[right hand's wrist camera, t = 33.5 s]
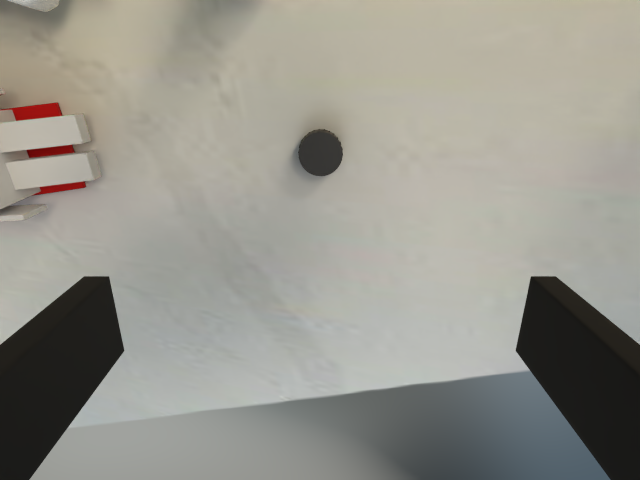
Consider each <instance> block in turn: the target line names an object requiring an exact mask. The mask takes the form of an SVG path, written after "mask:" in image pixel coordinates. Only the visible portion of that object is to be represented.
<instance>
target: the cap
mask: <svg viewBox="0 0 640 480" xmlns="http://www.w3.org/2000/svg"><path fill="white" fill-rule="evenodd" d="M299 148H300V149H299V152H298V153H299V159H300V162H301V164H302V166H303V168H304V169H305V170H306V171H308V172H309V173H311V174H313V175H316V176H325V175H328V174H331V173H332V172H334V171H335V170H336V169H337V168H338V167H339V165H340V163H341V160H342V155H343V153H342V150H343V149H342V147H341V143H340V142H339V140H338V137H336V136H335V135H334V133H331V132H330V131H327V130H325V129H324V130H320V129H319V130H315V131H312V132H309V134H307V135H306V136H305V137H304V139H303V140H302V142H301V145H300V147H299Z"/></svg>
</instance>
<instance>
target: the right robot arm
mask: <svg viewBox="0 0 640 480" xmlns="http://www.w3.org/2000/svg"><path fill="white" fill-rule="evenodd" d="M123 352H124V347H123V342H122V338H121V333H120V328H119V323H118V318H117V313H116V308H115V304H114V299H113V294H112V289H111V284H110V279H109V277H83V278H82V279H81V280H79V281H78V282H77V283H76V284H74V285H73V286H72V287H71V288H70V289H68V290H67V291H66V292H65V293H63V294H62V295H61V296H60V297H59V298H57V299H56V300H55V301H54V302H52V303H51V304H50V305H49V306H47V307H46V308H45V309H44V310H43V311H41V312H40V313H39V314H38V315H36V316H35V317H34V318H33V319H31V320H30V321H29V322H28V323H27V324H25V325H24V326H23V327H22V328H20V329H19V330H18V331H17V332H15V333H14V334H13V335H12V336H11V337H9V338H8V339H7V340H6V341H4V342H3V343H2V344H1V345H0V480H29V479H30V478H31V477H32V475H33V474H34V472H35V471H36V470H37V468H38V467H39V466H40V464H41V463H42V462H43V460H44V459H45V458H46V456H47V455H48V454H49V452H50V451H51V449H52V448H53V447H54V445H55V444H56V443H57V441H58V440H59V439H60V437H61V436H62V434H63V433H64V432H65V430H66V429H67V428H68V426H69V425H70V424H71V422H72V421H73V420H74V418H75V417H76V415H77V414H78V413H79V411H80V410H81V409H82V407H83V406H84V405H85V403H86V402H87V401H88V399H89V398H90V396H91V395H92V394H93V392H94V391H95V390H96V388H97V387H98V386H99V384H100V383H101V382H102V380H103V379H104V377H105V376H106V375H107V373H108V372H109V371H110V369H111V368H112V367H113V365H114V364H115V363H116V361H117V360H118V358H119V357H120V356H121V354H122V353H123ZM516 352H517V353H518V354H519V356H520V357H521V358H522V360H523V361H524V363H525V364H526V365H527V367H528V368H529V369H530V371H531V372H532V373H533V375H534V376H535V377H536V379H537V380H538V381H539V383H540V384H541V386H542V387H543V388H544V390H545V391H546V392H547V394H548V395H549V396H550V398H551V399H552V401H553V402H554V403H555V405H556V406H557V407H558V409H559V410H560V411H561V413H562V414H563V416H564V417H565V418H566V420H567V421H568V422H569V424H570V425H571V426H572V428H573V429H574V430H575V432H576V433H577V435H578V436H579V437H580V439H581V440H582V441H583V443H584V444H585V445H586V447H587V448H588V449H589V451H590V452H591V453H592V455H593V456H594V458H595V459H596V460H597V462H598V463H599V464H600V466H601V467H602V468H603V470H604V471H605V472H606V474H607V475H608V477H609V478H610V479H611V480H640V345H639V344H638V343H637V342H636V341H634V340H633V339H632V338H631V337H629V336H628V335H627V334H626V333H625V332H623V331H622V330H621V329H620V328H618V327H617V326H616V325H615V324H613V323H612V322H611V321H610V320H609V319H607V318H606V317H605V316H604V315H602V314H601V313H600V312H599V311H597V310H596V309H595V308H594V307H593V306H591V305H590V304H589V303H588V302H586V301H585V300H584V299H583V298H581V297H580V296H579V295H578V294H577V293H575V292H574V291H573V290H572V289H570V288H569V287H568V286H567V285H566V284H564V283H563V282H562V281H561V280H559V279H558V278H557V277H531V279H530V284H529V289H528V294H527V299H526V304H525V308H524V313H523V318H522V323H521V328H520V333H519V338H518V342H517V347H516Z"/></svg>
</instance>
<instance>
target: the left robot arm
mask: <svg viewBox="0 0 640 480" xmlns="http://www.w3.org/2000/svg"><path fill="white" fill-rule="evenodd" d="M7 1H10V2H13V3H16V4H19V5H22V6H25V7H29V8H32V9H36V10H39V11H44V12H48V11H50V10H52V9H54V8H56V7H57V6H58V4H59V0H7Z"/></svg>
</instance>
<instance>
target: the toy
mask: <svg viewBox="0 0 640 480" xmlns="http://www.w3.org/2000/svg"><path fill="white" fill-rule="evenodd" d="M4 94H5V92H4V90H3V88H0V95H4ZM89 141H91V138H90V134H89V131H88V128H87V124H86V121H85V117H84V114H76V115H67V116H62V113H61V110H60V107H59V104H58V103H50V104H42V105H34V106H26V107H18V108H10V109H2V110H0V221H17V220H26V219H28V218H30V217H32V216H34V215H36V214H38V213H40V212H42V211H45V210H47V206H46V204H41V205H20V206H9V205H11V204H13V203H16V202H18V201H20V200H22V199H25V198H27V197H29V196H32V195H39V194H46V193H52V192H59V191H65V190H72V189H79V188H85V187H86V185H85V182H84V181H91V180H95V179H97V178H99V177H101V176H102V175H101V172H100V168H99V165H98V162H97V158H96V155H95V151H85V152H77V153H75V152H74V149H73V146H72V144H81V143H86V142H89Z"/></svg>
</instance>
